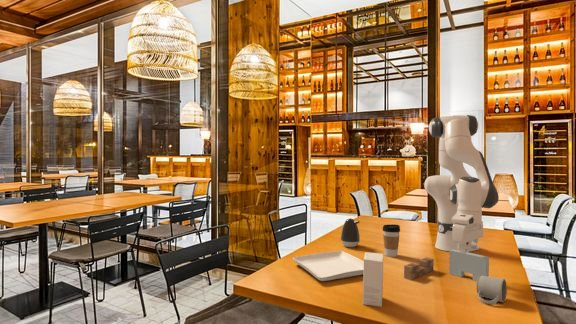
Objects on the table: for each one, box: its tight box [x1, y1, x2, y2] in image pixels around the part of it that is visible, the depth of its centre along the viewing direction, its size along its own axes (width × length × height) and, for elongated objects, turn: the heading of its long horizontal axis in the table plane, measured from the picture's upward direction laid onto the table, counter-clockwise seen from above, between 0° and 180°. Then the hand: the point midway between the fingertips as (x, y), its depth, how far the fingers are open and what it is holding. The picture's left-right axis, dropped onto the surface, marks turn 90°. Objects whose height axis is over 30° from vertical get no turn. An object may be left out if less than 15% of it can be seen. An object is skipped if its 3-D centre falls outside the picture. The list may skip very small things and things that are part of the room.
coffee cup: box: [382, 224, 401, 258], centre depth 166 cm, size 8×8×15 cm
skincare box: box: [362, 251, 384, 308], centre depth 114 cm, size 8×7×16 cm
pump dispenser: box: [340, 218, 361, 248], centre depth 183 cm, size 10×10×15 cm
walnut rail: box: [403, 256, 435, 281], centre depth 140 cm, size 18×3×5 cm, turn 129°
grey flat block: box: [448, 249, 490, 282], centre depth 136 cm, size 14×3×10 cm, turn 39°
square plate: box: [292, 250, 364, 282], centre depth 146 cm, size 27×27×4 cm
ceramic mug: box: [475, 276, 508, 306], centre depth 116 cm, size 11×8×8 cm
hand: (468, 251), depth 136 cm, fingers open, 8 cm apart
